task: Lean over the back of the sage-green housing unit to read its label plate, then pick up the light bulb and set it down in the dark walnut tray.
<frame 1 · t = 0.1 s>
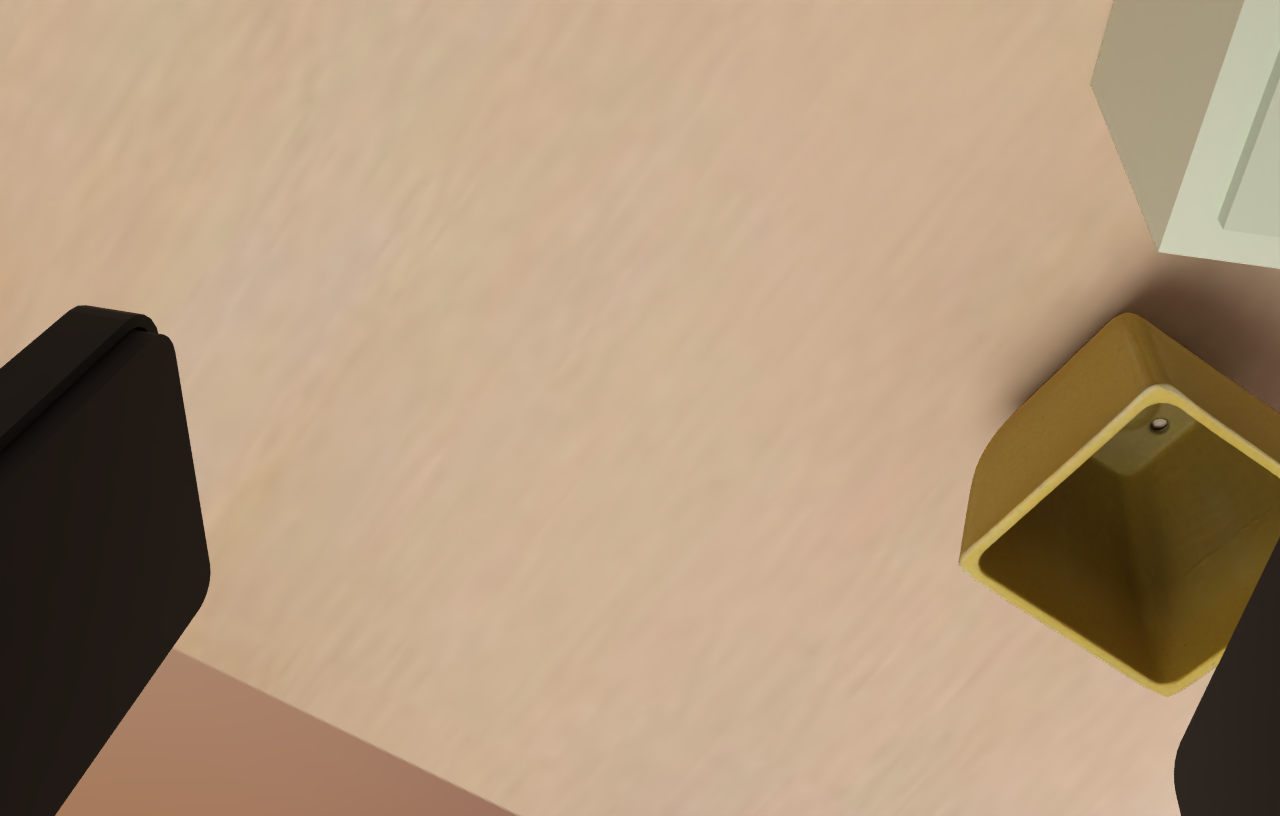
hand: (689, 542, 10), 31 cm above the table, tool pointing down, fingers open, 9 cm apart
flower pot: (1118, 392, 44), on the table
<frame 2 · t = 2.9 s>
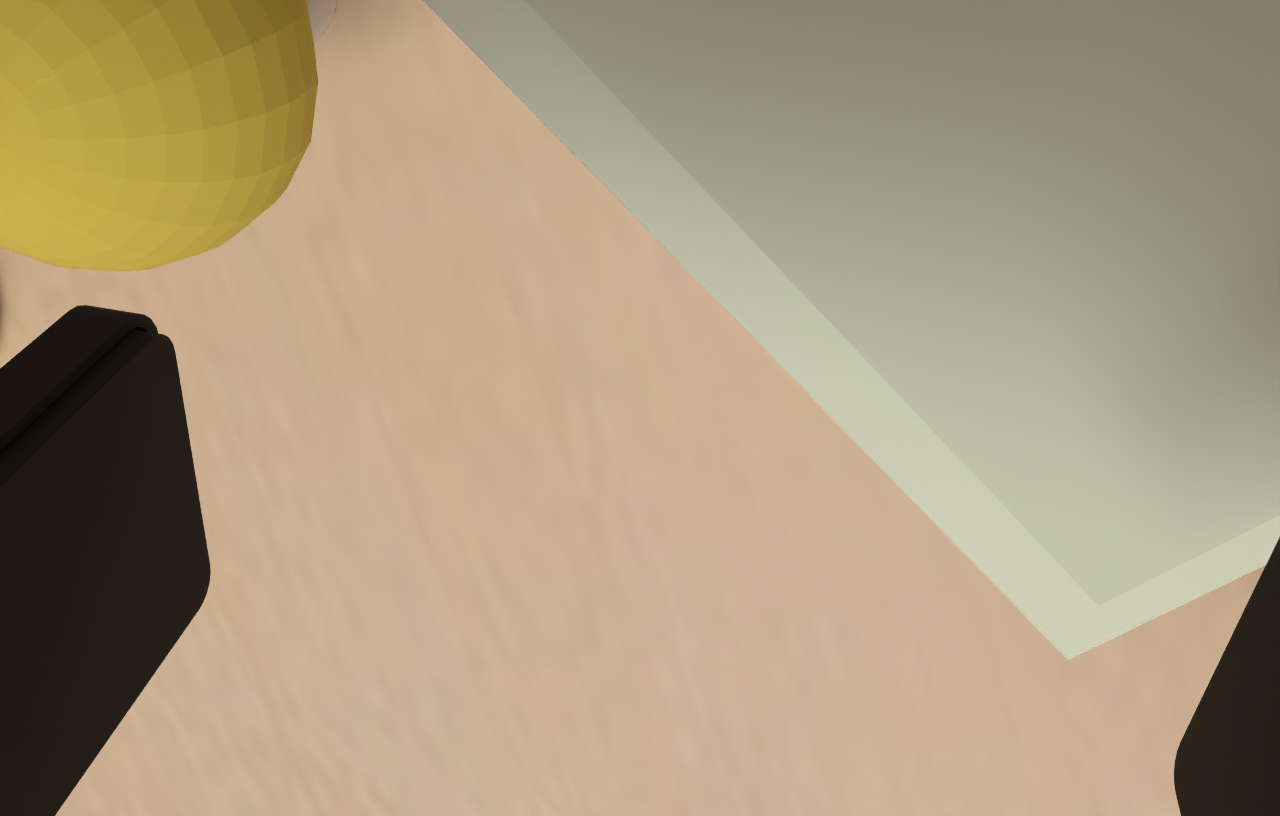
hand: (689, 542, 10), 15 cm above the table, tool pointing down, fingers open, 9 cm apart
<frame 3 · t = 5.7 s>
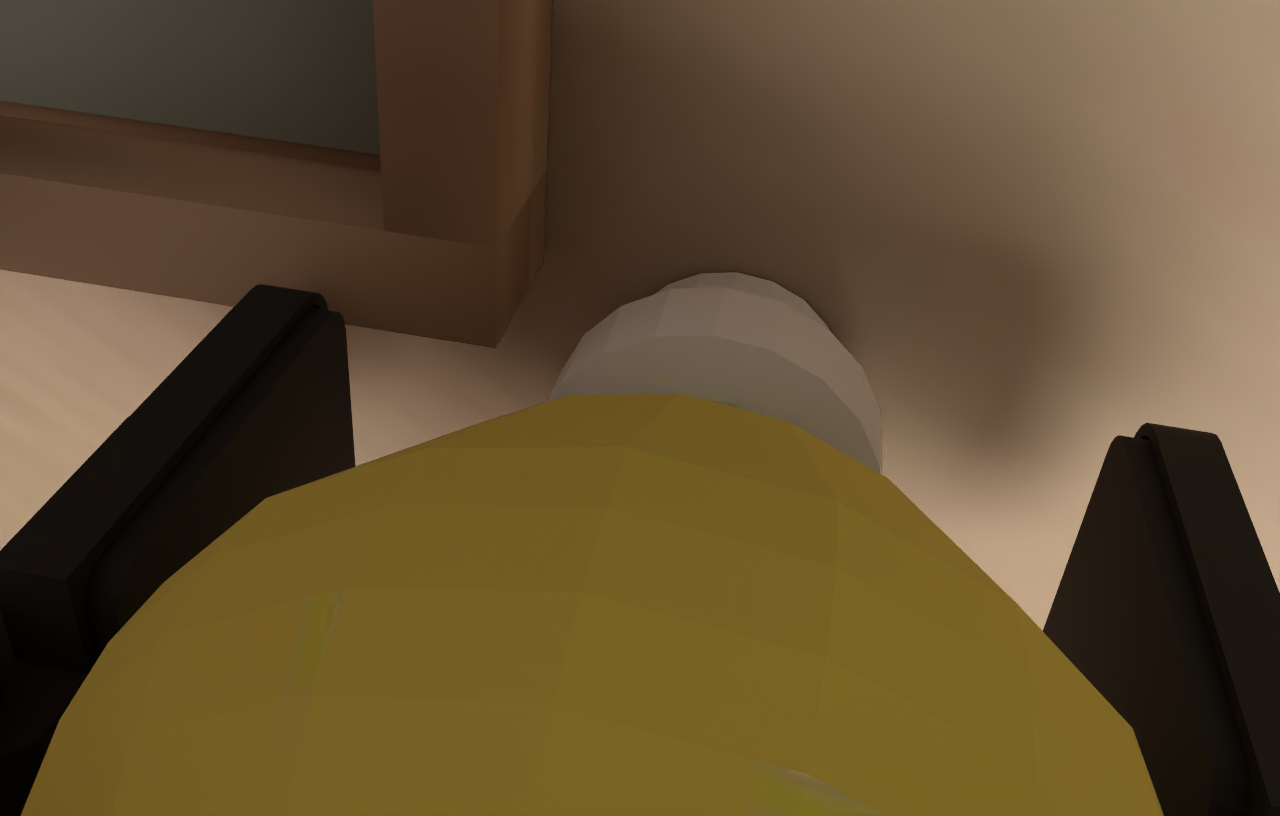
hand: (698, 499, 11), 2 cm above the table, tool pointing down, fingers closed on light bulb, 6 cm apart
light bulb: (730, 363, 13), on the table, touching gripper
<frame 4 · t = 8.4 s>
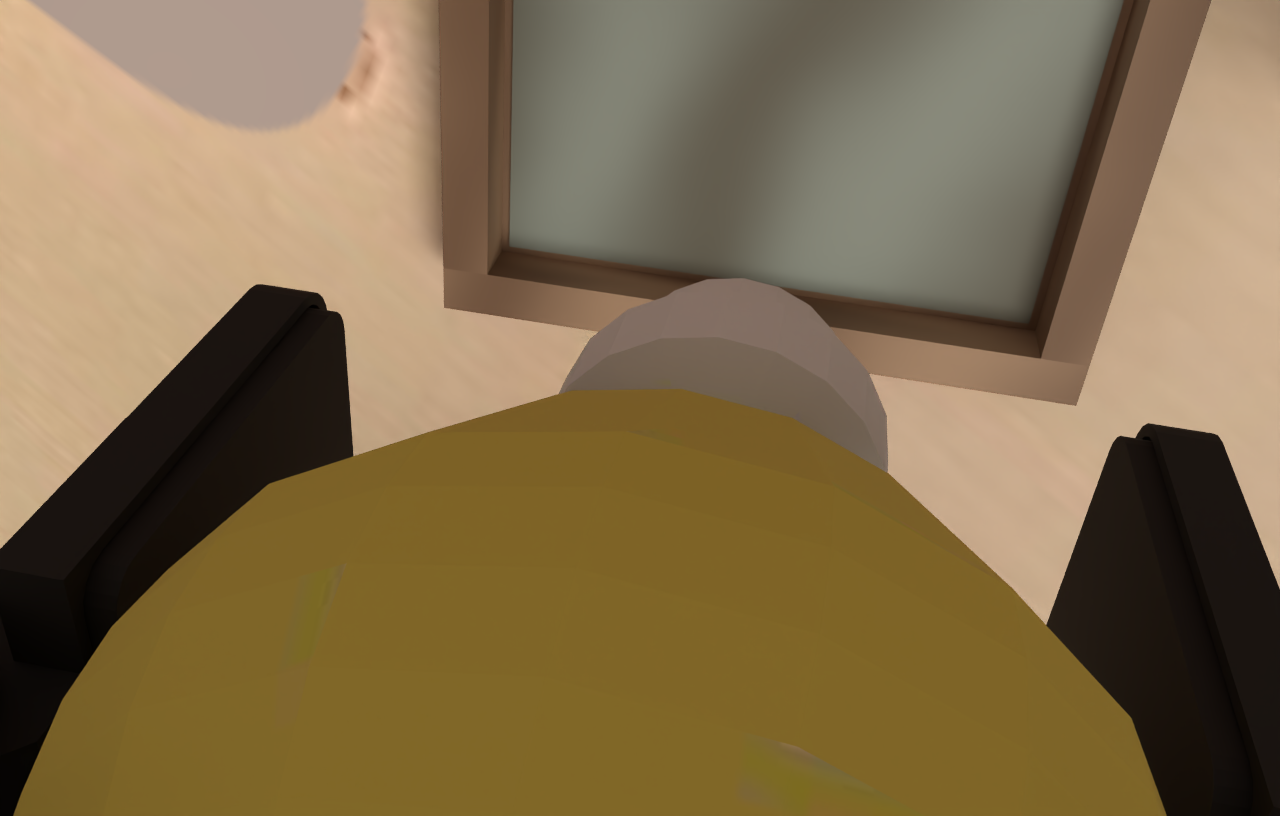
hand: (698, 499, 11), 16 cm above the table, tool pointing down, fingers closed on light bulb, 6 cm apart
tray: (804, 11, 24), on the table
light bulb: (737, 369, 13), point 14 cm above the table, touching gripper
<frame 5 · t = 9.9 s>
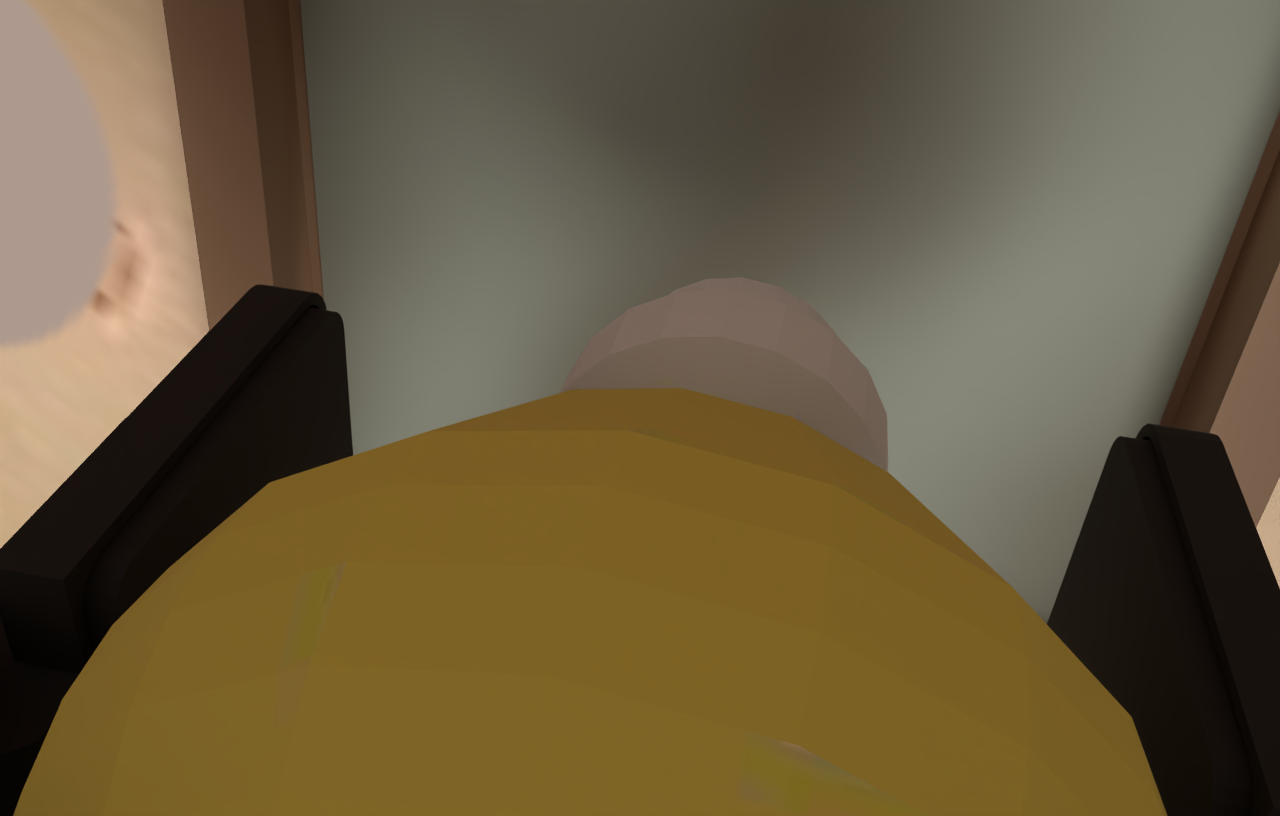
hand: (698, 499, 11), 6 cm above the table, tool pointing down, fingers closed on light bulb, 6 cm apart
tray: (749, 213, 16), on the table
light bulb: (737, 369, 13), point 4 cm above the table, touching gripper
when the fingers open (5 cm above the table, at t = 11.2 s): light bulb drops 2 cm, resting on tray.
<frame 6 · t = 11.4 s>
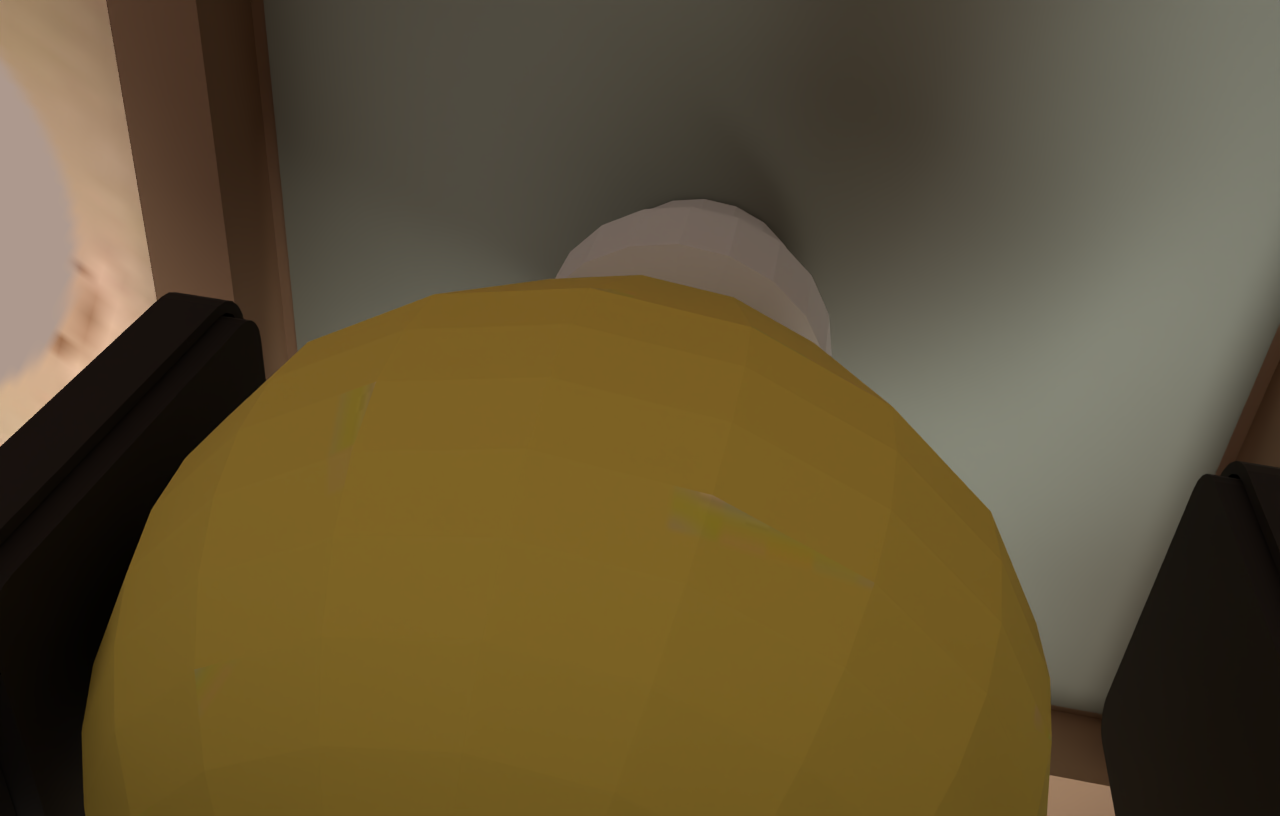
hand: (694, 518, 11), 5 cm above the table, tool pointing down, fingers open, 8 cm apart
tray: (758, 260, 15), on the table
light bulb: (702, 282, 15), point 1 cm above the table, touching gripper, tray
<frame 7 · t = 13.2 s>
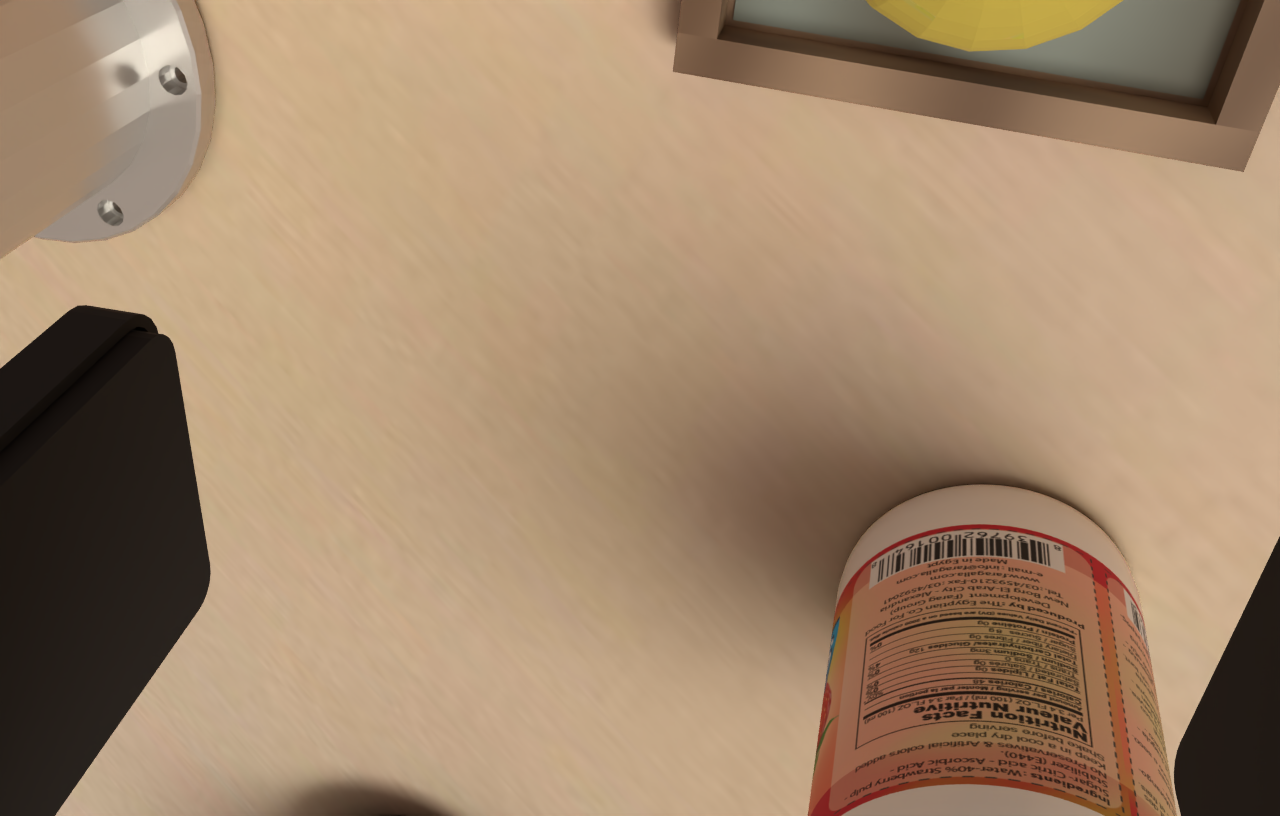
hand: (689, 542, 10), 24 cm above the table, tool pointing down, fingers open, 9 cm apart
fruit juice: (984, 586, 40), on the table
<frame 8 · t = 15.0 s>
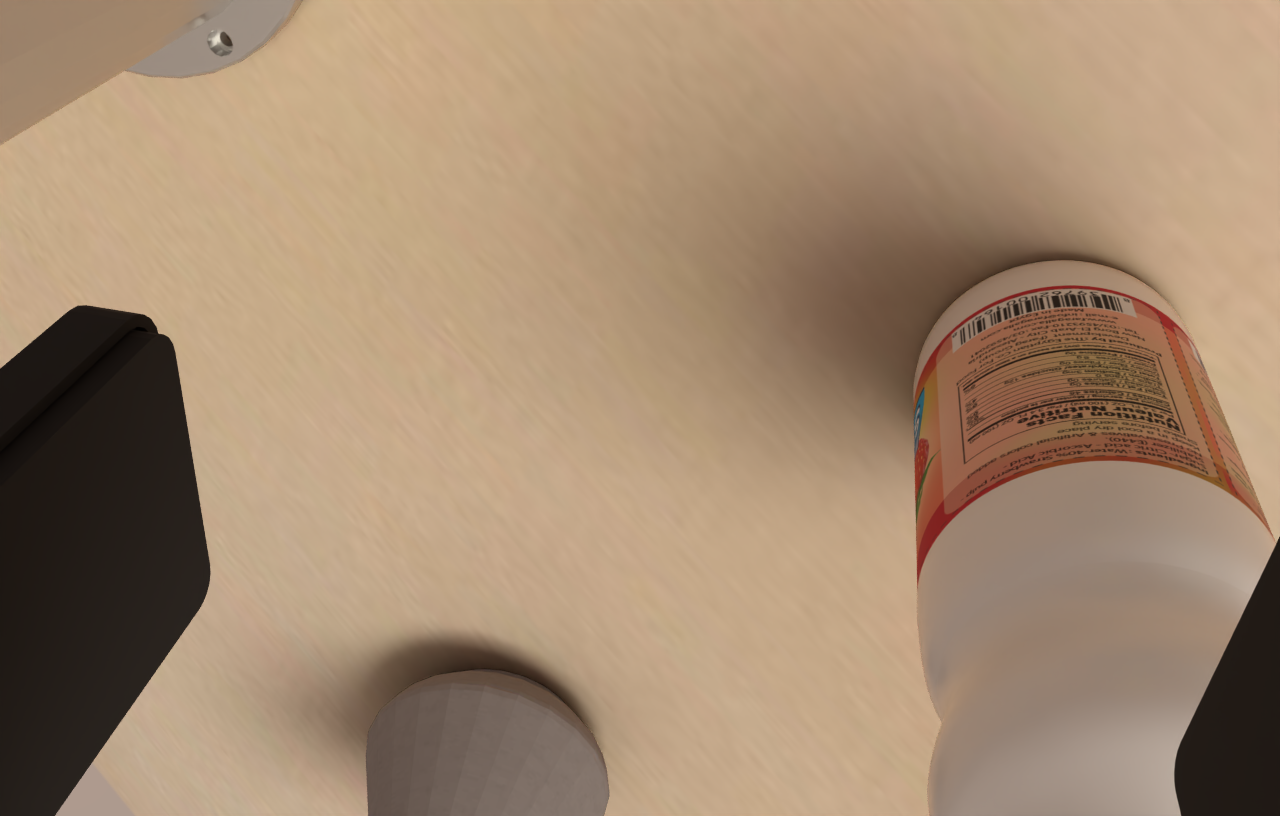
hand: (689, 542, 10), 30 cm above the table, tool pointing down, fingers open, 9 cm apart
fruit juice: (1048, 369, 43), on the table
coffee pot: (552, 790, 60), on the table
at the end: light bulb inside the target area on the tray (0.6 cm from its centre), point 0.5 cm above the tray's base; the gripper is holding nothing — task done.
